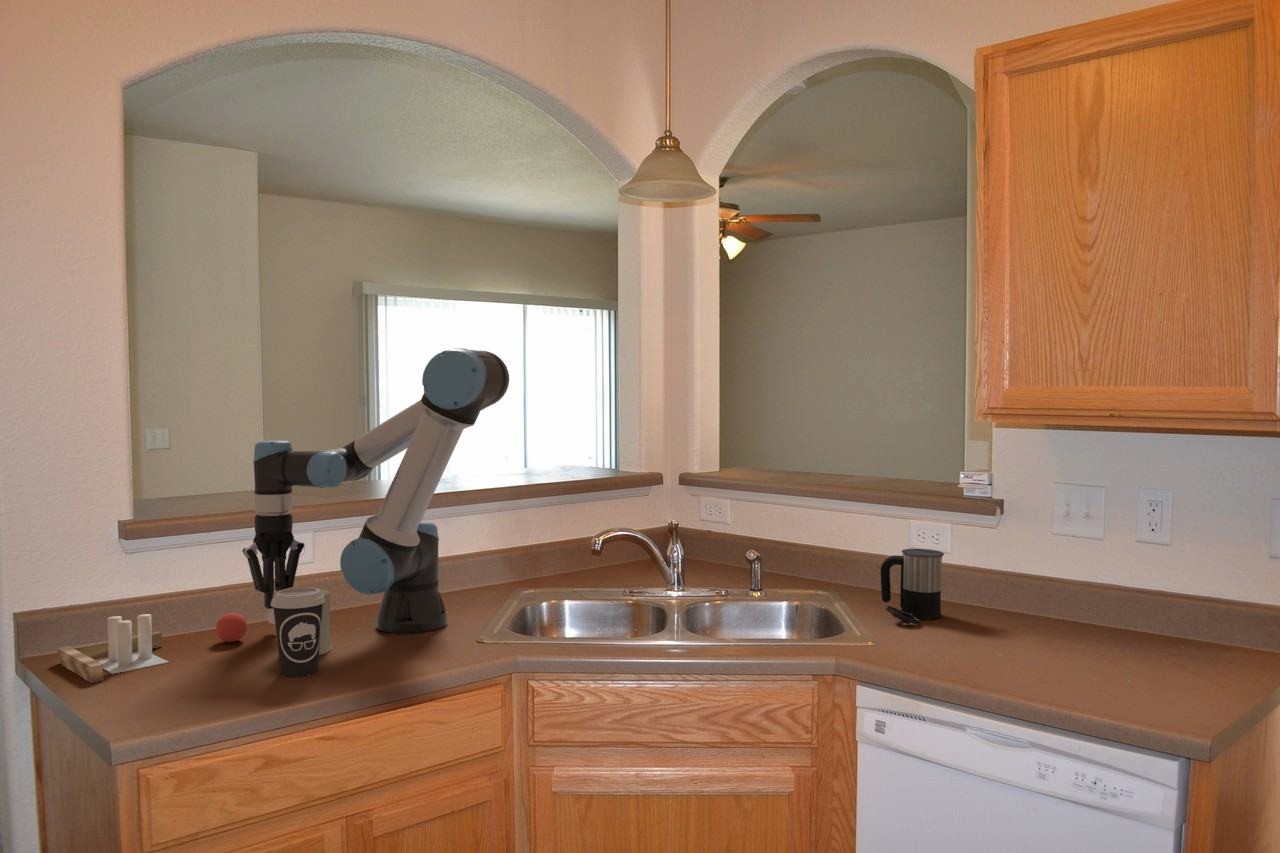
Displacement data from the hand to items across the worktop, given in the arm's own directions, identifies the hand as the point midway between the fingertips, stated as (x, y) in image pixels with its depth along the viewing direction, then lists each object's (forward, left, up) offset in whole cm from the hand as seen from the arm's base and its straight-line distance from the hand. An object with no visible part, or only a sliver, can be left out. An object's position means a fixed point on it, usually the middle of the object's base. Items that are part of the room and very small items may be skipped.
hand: (274, 622), depth 207 cm
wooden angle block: (0, +30, -2) cm, 30 cm away
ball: (0, +9, +1) cm, 9 cm away
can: (-18, +2, -3) cm, 19 cm away
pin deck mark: (0, +29, -2) cm, 29 cm away
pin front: (0, +26, -2) cm, 27 cm away
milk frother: (-95, -103, -3) cm, 141 cm away
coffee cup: (-30, +10, -3) cm, 32 cm away
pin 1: (+2, +31, -2) cm, 31 cm away
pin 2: (-3, +31, -2) cm, 31 cm away
